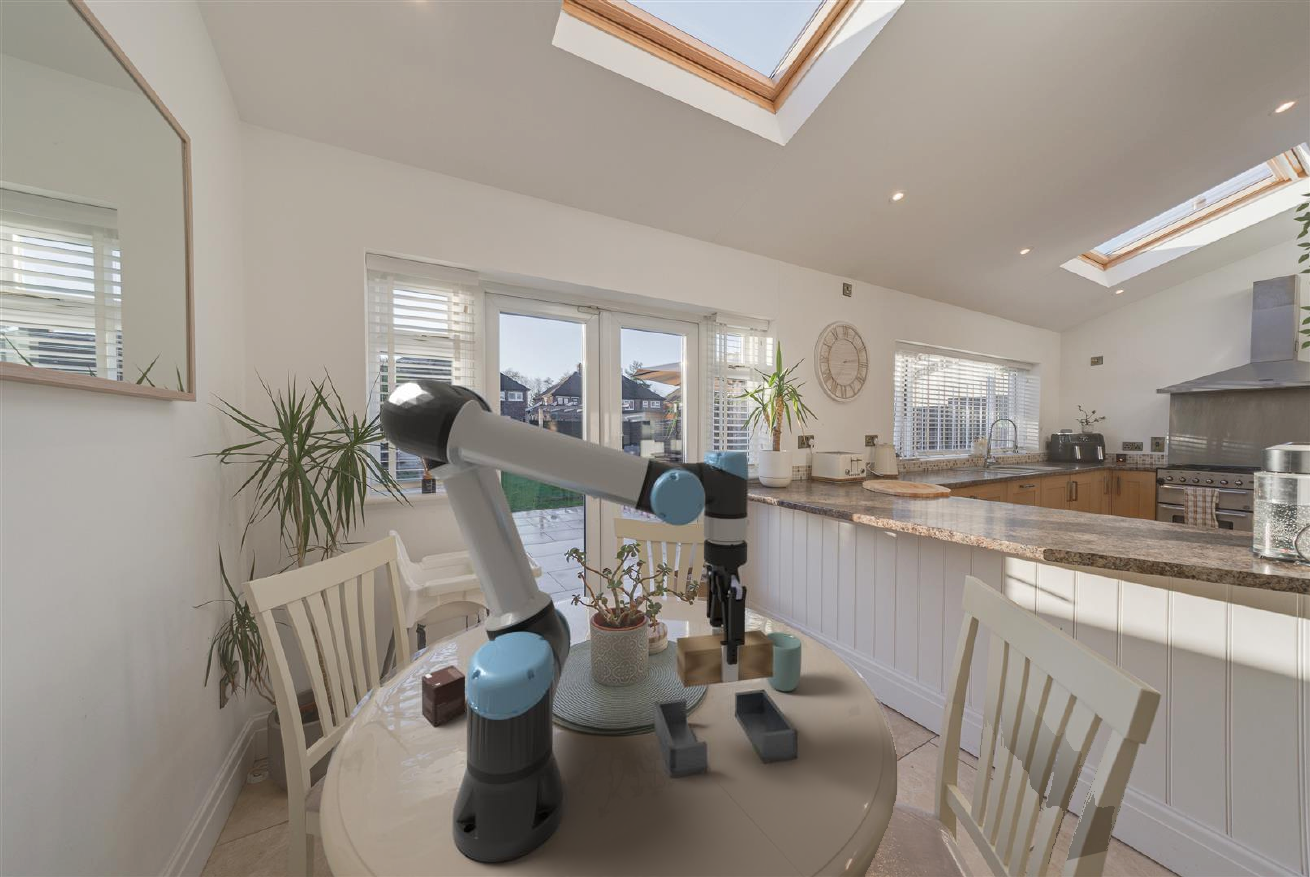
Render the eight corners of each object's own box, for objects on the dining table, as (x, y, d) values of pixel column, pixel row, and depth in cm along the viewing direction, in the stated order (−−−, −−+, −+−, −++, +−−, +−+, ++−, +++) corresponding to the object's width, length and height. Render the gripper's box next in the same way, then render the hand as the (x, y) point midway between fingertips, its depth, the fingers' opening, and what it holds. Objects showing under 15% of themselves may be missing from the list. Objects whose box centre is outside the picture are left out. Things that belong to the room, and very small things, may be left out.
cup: (803, 698, 92) (803, 650, 92) (764, 694, 94) (764, 646, 93) (798, 678, 100) (799, 634, 100) (762, 674, 101) (763, 630, 101)
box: (466, 713, 86) (466, 675, 86) (433, 728, 82) (433, 688, 82) (452, 700, 90) (452, 664, 90) (421, 713, 86) (421, 676, 86)
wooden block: (684, 687, 74) (684, 651, 74) (676, 671, 79) (676, 638, 79) (773, 676, 78) (773, 642, 78) (760, 662, 83) (760, 630, 83)
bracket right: (763, 712, 87) (764, 689, 87) (797, 758, 75) (797, 731, 75) (734, 716, 86) (735, 692, 86) (764, 763, 74) (764, 736, 74)
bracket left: (670, 778, 71) (670, 750, 70) (653, 726, 83) (654, 702, 83) (706, 772, 72) (707, 744, 72) (685, 722, 84) (685, 698, 84)
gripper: (768, 552, 70) (766, 699, 70) (727, 527, 88) (725, 645, 88) (723, 554, 69) (721, 704, 69) (690, 529, 86) (689, 648, 87)
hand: (723, 671), depth 78 cm, fingers closed on wooden block, 5 cm apart
